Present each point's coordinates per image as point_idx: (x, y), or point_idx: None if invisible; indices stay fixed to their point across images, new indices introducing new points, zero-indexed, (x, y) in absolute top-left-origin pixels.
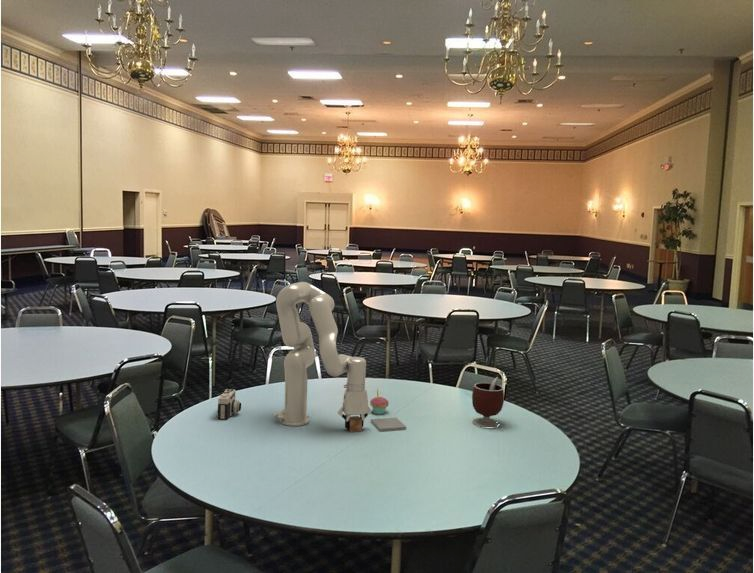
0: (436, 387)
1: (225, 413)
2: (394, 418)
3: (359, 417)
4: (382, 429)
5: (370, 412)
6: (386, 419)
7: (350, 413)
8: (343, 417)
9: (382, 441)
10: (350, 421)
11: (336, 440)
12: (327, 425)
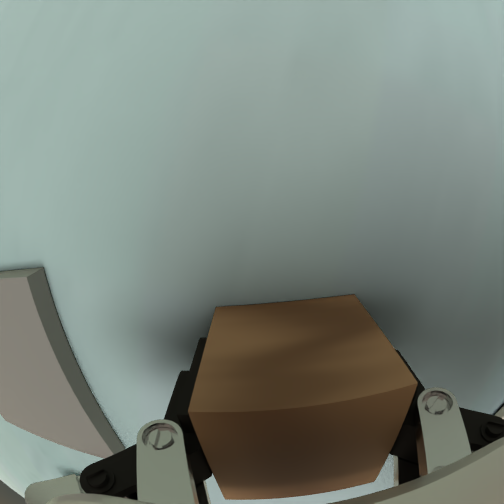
0: (20, 493)
1: None
2: (5, 414)
3: (218, 475)
4: (17, 275)
5: (43, 484)
6: (32, 423)
7: (501, 471)
8: (488, 418)
9: (79, 19)
10: (411, 373)
11: (495, 110)
12: None
